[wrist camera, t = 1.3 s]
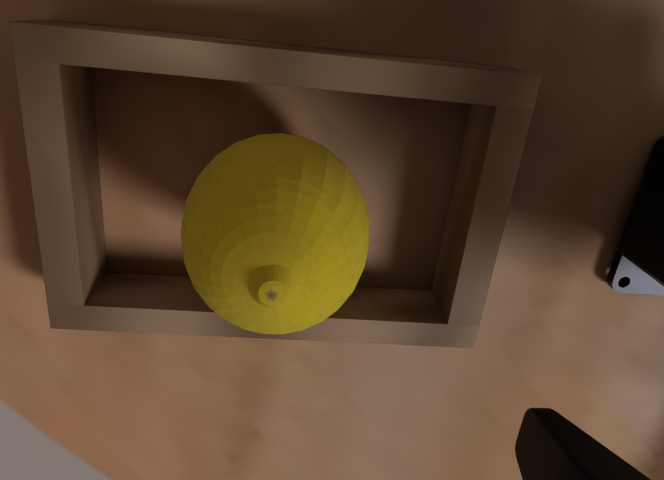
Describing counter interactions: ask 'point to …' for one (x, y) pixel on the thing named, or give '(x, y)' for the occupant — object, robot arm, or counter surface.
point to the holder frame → (276, 69)
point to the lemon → (275, 233)
